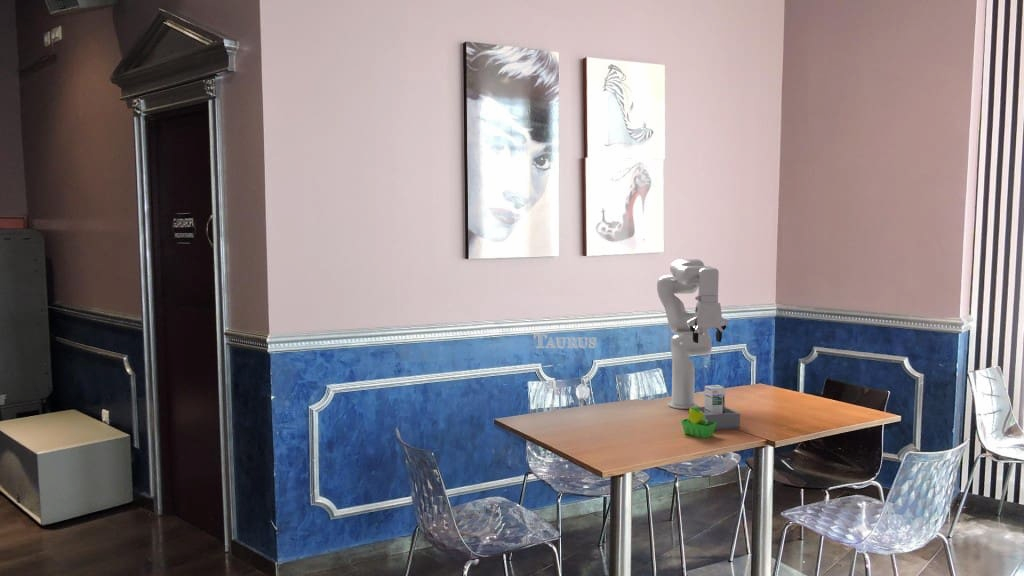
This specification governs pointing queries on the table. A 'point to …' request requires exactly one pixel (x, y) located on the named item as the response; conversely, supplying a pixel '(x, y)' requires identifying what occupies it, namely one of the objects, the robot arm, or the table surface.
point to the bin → (723, 419)
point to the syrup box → (714, 399)
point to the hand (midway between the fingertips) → (707, 342)
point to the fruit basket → (698, 424)
